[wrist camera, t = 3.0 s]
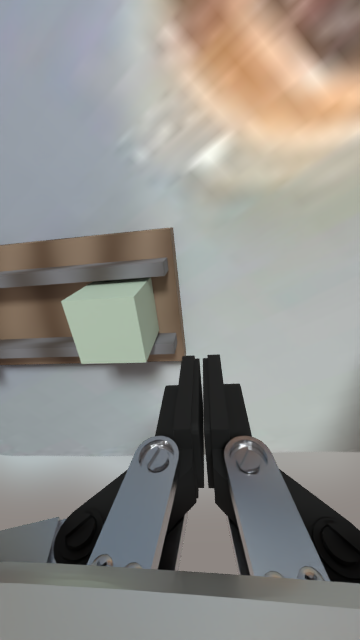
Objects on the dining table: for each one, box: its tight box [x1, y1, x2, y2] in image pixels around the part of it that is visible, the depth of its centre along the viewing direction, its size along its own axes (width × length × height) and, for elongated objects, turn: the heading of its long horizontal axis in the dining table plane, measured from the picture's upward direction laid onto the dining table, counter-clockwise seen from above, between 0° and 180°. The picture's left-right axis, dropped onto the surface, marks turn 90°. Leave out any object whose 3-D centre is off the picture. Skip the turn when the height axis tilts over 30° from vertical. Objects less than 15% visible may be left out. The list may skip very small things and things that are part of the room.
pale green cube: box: [61, 277, 159, 364], centre depth 19 cm, size 5×5×5 cm
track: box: [0, 227, 186, 365], centre depth 21 cm, size 23×12×6 cm, turn 96°
